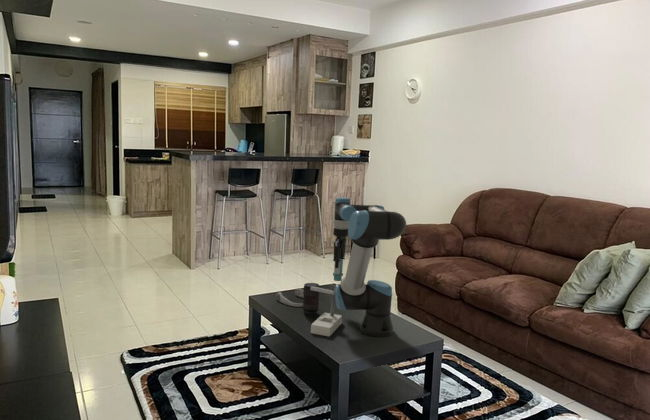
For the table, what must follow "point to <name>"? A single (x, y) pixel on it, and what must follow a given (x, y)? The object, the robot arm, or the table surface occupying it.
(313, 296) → the camera lens
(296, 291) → the neck fan
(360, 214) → the robot arm
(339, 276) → the plug
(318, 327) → the grey block with rod
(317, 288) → the grey square bar
